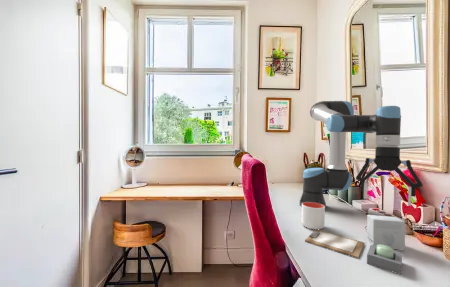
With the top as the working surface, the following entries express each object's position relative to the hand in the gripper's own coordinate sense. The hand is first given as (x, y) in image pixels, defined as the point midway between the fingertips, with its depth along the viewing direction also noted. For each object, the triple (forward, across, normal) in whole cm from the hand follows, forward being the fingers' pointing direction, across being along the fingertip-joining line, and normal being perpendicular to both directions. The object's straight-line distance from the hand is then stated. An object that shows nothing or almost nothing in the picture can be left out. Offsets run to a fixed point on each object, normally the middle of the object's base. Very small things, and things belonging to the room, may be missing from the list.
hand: (386, 201), depth 82 cm
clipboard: (+17, -15, -12) cm, 26 cm away
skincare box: (+17, 0, 0) cm, 17 cm away
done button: (+15, +1, -16) cm, 22 cm away
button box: (+17, +1, -16) cm, 23 cm away
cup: (+17, -27, -1) cm, 32 cm away
